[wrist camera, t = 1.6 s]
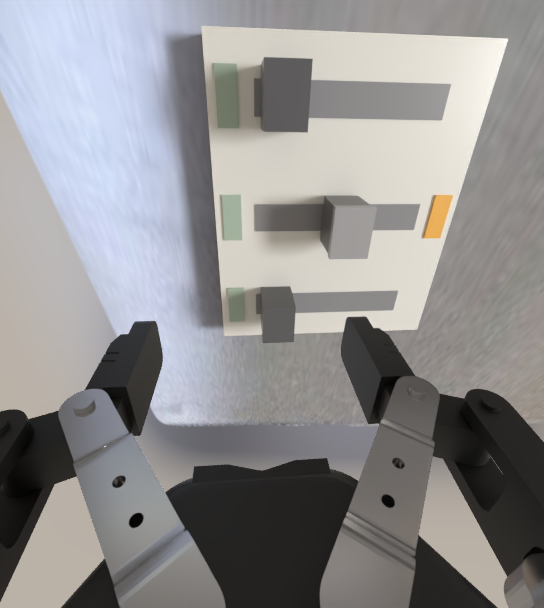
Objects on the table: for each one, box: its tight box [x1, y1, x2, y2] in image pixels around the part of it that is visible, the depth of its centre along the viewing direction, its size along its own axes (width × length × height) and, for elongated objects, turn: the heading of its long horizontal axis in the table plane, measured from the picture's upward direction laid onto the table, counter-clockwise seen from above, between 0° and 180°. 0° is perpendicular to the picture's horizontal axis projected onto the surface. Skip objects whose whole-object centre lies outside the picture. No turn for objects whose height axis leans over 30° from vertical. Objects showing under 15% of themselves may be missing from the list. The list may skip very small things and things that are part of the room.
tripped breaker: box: [320, 196, 377, 259], centre depth 27 cm, size 3×4×4 cm
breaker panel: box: [201, 26, 508, 343], centre depth 28 cm, size 22×26×6 cm
